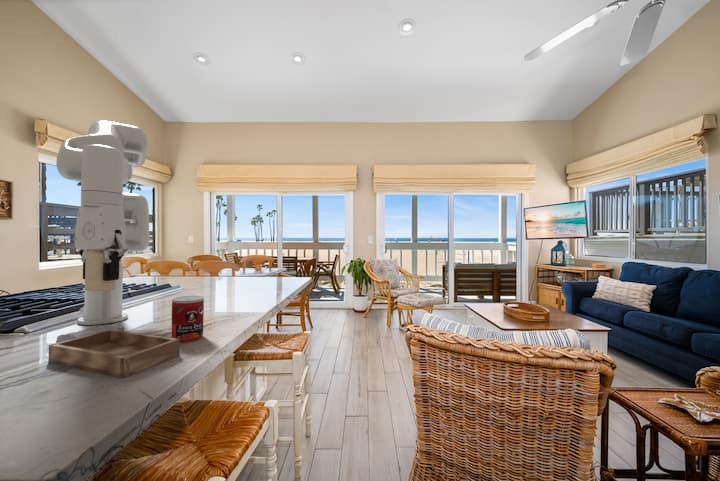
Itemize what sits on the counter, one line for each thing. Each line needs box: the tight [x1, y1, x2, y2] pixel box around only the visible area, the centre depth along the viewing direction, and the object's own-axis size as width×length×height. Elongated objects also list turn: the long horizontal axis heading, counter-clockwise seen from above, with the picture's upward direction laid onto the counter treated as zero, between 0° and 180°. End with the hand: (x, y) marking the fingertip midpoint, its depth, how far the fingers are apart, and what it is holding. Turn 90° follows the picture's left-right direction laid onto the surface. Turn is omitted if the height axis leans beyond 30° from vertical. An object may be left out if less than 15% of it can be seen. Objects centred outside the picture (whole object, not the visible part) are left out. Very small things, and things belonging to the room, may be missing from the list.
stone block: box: [55, 324, 126, 343], centre depth 82 cm, size 12×5×10 cm
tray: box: [48, 329, 181, 379], centre depth 71 cm, size 22×13×4 cm, turn 73°
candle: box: [84, 247, 116, 292], centre depth 74 cm, size 6×6×10 cm
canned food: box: [170, 295, 205, 344], centre depth 87 cm, size 8×8×11 cm
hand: (101, 278), depth 74 cm, fingers closed on candle, 5 cm apart
